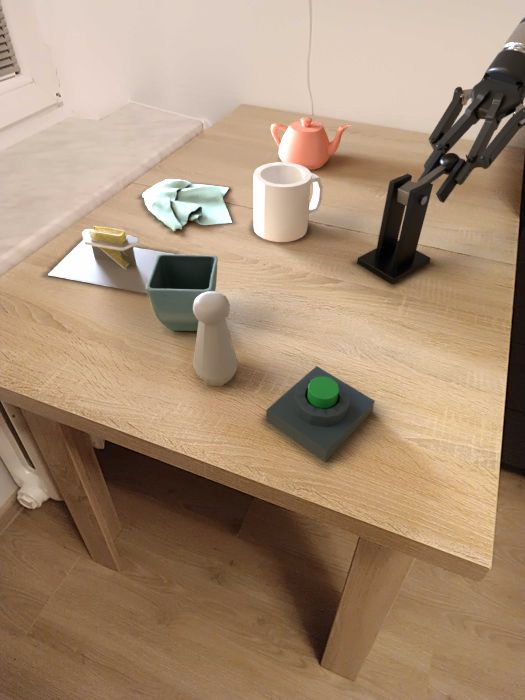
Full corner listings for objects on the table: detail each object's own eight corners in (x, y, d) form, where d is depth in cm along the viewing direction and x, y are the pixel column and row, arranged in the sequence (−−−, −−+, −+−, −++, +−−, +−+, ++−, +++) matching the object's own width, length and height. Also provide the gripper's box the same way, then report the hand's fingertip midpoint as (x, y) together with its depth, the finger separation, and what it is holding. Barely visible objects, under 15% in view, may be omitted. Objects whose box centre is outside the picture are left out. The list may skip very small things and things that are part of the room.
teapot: (275, 147, 123) (277, 106, 117) (348, 155, 121) (354, 113, 114) (264, 167, 115) (264, 124, 108) (342, 176, 112) (347, 133, 105)
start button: (319, 381, 62) (320, 371, 60) (343, 396, 60) (345, 386, 59) (301, 398, 60) (302, 388, 58) (325, 413, 58) (327, 404, 57)
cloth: (164, 176, 111) (163, 166, 109) (256, 193, 106) (256, 182, 104) (114, 219, 97) (111, 208, 95) (217, 241, 92) (216, 229, 90)
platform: (146, 293, 80) (139, 258, 76) (47, 275, 83) (35, 240, 79) (175, 254, 88) (171, 220, 84) (84, 238, 92) (75, 205, 87)
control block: (315, 377, 67) (317, 355, 64) (372, 412, 63) (377, 390, 60) (266, 420, 62) (266, 399, 59) (324, 462, 57) (328, 441, 55)
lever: (446, 165, 84) (449, 146, 81) (463, 172, 82) (467, 152, 79) (393, 202, 80) (394, 184, 77) (410, 211, 78) (412, 192, 75)
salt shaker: (207, 398, 64) (200, 320, 55) (187, 371, 68) (176, 294, 59) (246, 379, 67) (244, 303, 58) (224, 354, 70) (219, 278, 61)
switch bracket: (393, 244, 92) (411, 165, 81) (429, 263, 87) (452, 182, 77) (356, 263, 87) (369, 182, 77) (392, 284, 82) (411, 201, 72)
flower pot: (165, 301, 79) (157, 252, 72) (220, 303, 78) (218, 254, 72) (154, 339, 72) (144, 289, 66) (214, 341, 72) (211, 291, 66)
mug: (300, 205, 102) (303, 153, 94) (331, 227, 96) (338, 173, 88) (243, 223, 96) (242, 170, 89) (273, 247, 90) (275, 192, 83)
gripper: (572, 92, 77) (477, 223, 81) (478, 68, 86) (397, 186, 90) (570, 59, 71) (467, 202, 74) (469, 36, 80) (382, 165, 84)
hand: (429, 193), depth 82 cm, fingers closed on lever, 3 cm apart
